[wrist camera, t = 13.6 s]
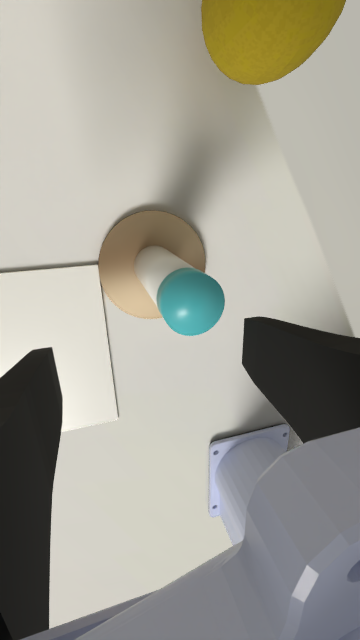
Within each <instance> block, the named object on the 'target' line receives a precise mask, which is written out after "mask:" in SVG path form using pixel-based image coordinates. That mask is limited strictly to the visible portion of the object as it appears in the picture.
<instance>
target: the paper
mask: <svg viewBox="0 0 360 640" xmlns="http://www.w3.org/2000/svg"><path fill="white" fill-rule="evenodd" d="M48 347H52V349H53V354H54V359H55V364H56V368H57V373H58V378H59V382H60V387H61V392H62V397H63V416H62V428H61V432H64V431H69V430H73V429H78V428H83V427H87V426H92V425H97V424H102V423H106V422H111V421H116V420H118V414H117V406H116V399H115V391H114V384H113V376H112V369H111V361H110V353H109V346H108V338H107V331H106V323H105V315H104V308H103V300H102V293H101V285H100V277H99V270H98V264H95V265H84V266H73V267H61V268H50V269H38V270H27V271H15V272H4V273H0V378H1V377H2V376H3V375H4V374H5V373H6V372H7V371H9V370H10V369H11V368H12V367H13V366H14V365H15V364H16V363H18V362H19V361H20V360H21V359H22V358H23V357H24V356H25V355H27V354H28V353H29V352H30V351H32V350H34V349H41V348H48Z"/></svg>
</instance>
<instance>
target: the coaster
mask: <svg viewBox="0 0 360 640" xmlns="http://www.w3.org/2000/svg"><path fill="white" fill-rule="evenodd" d="M155 245H156V246H161V247H163V248H165V249H166V250H168V251H169V252H171V253H172V254H174V255H176V256H177V257H179V258H180V259H182V260H183V261H185V262H186V263H188V264H189V265H191V266H192V267H194V268H195V269H198V270H200V271H202V272H204V273H205V254H204V249H203V246H202V243H201V241H200V239H199V237H198V235H197V234H196V232H195V231H194V230H193V229H192V227H191V226H190V225H188V224H187V223H186V222H185V221H183V220H182V219H180V218H179V217H177V216H175V215H172V214H169V213H166V212H161V211H143V212H139V213H135V214H133V215H130V216H128V217H127V218H125V219H123V220H122V221H120V222H119V223H118V224H117V225H116V226H115V227H114V228H113V229H112V230H111V231H110V232H109V234H108V235H107V237H106V238H105V240H104V242H103V244H102V247H101V250H100V254H99V262H98V268H99V276H100V281H101V284H102V287H103V289H104V291H105V293H106V294H107V296H108V297H109V299H110V300H111V301H112V302H113V303H114V304H115V305H116V306H117V307H118V308H119V309H121V310H122V311H124V312H125V313H127V314H130V315H132V316H135V317H138V318H144V319H157V318H162V315H161V313H160V312H159V310H158V307H157V306H156V304H155V303H154V301H153V300H152V298H151V297H150V295H149V294H148V292H147V291H146V289H145V288H144V286H143V285H142V283H141V282H140V280H139V279H138V277H137V276H136V274H135V271H134V262H135V258H136V256H137V255H138V253H139V252H140V251H141V250H142V249H144V248H146V247H148V246H155Z"/></svg>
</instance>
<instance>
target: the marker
mask: <svg viewBox="0 0 360 640" xmlns="http://www.w3.org/2000/svg"><path fill="white" fill-rule="evenodd" d="M134 271H135V274H136V276H137V277H138V279H139V280H140V282H141V283H142V285H143V286H144V288H145V289H146V291H147V292H148V294H149V295H150V297H151V298H152V300H153V301H154V303H155V304H156V306H157V307H158V310H159V312H160V313H161V315H162V317H163V318H164V320H165V321H166V323H167V324H168V325H169V327H170V328H171V329H172V330H174V331H175V332H177V333H179V334H182V335H187V336H193V335H199V334H202V333H204V332H206V331H208V330H209V329H211V328H212V327H213V326H214V325H215V324H216V323H217V322H218V320H219V319H220V317H221V315H222V312H223V309H224V303H225V299H224V293H223V290H222V288H221V286H220V285H219V284H218V282H217V281H216V280H214V279H213V278H211V277H210V276H208V275H207V274H205V273H204V272H202V271H200V270H198V269H195V268H194V267H192V266H191V265H189V264H188V263H186V262H185V261H183V260H182V259H180V258H179V257H177V256H176V255H174V254H172V253H171V252H169V251H168V250H166V249H165V248H163V247H161V246H156V245H155V246H148V247H146V248H144V249H142V250H141V251H140V252H139V253H138V255H137V256H136V258H135V262H134Z"/></svg>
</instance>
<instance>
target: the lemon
mask: <svg viewBox="0 0 360 640" xmlns="http://www.w3.org/2000/svg"><path fill="white" fill-rule="evenodd" d="M345 2H346V0H202V7H201V11H202V31H203V35H204V40H205V44H206V47H207V49H208V52H209V54H210V56H211V58H212V60H213V61H214V63H215V64H216V66H217V67H218V68H219V70H220V71H221V72H223V73H224V74H225V75H226V76H227V77H229V78H230V79H232V80H235V81H237V82H239V83H242V84H252V85H260V84H264V83H268V82H272V81H275V80H278V79H280V78H282V77H283V76H285V75H287V74H288V73H290V72H291V71H293V70H295V69H296V68H297V67H299V66H300V65H301V64H303V63H304V62H305V61H306V60H307V59H308V58H309V57H310V56H311V55H312V53H313V52H314V51H315V50H316V49H317V48H318V47H319V46H320V45H321V43H322V42H323V41H324V40H325V39H326V37H327V36H328V35H329V33H330V31H331V30H332V28H333V26H334V25H335V23H336V21H337V19H338V18H339V16H340V14H341V12H342V10H343V7H344V5H345Z"/></svg>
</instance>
